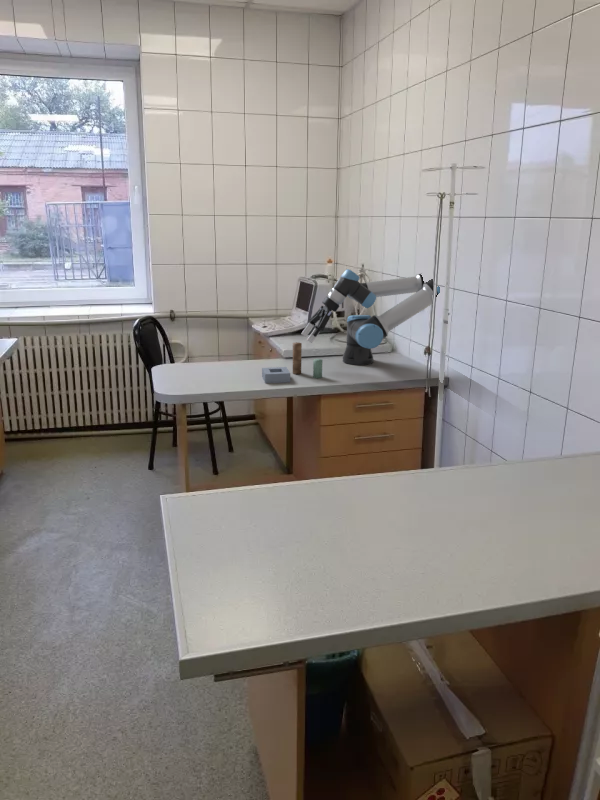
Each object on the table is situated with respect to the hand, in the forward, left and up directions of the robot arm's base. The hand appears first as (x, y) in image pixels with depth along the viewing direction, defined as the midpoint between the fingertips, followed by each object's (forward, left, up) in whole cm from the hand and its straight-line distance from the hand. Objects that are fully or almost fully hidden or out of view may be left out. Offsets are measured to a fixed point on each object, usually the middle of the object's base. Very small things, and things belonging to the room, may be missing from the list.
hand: (306, 338), depth 285 cm
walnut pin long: (+5, +5, -15) cm, 17 cm away
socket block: (+16, +13, -15) cm, 26 cm away
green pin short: (-3, +13, -15) cm, 20 cm away
